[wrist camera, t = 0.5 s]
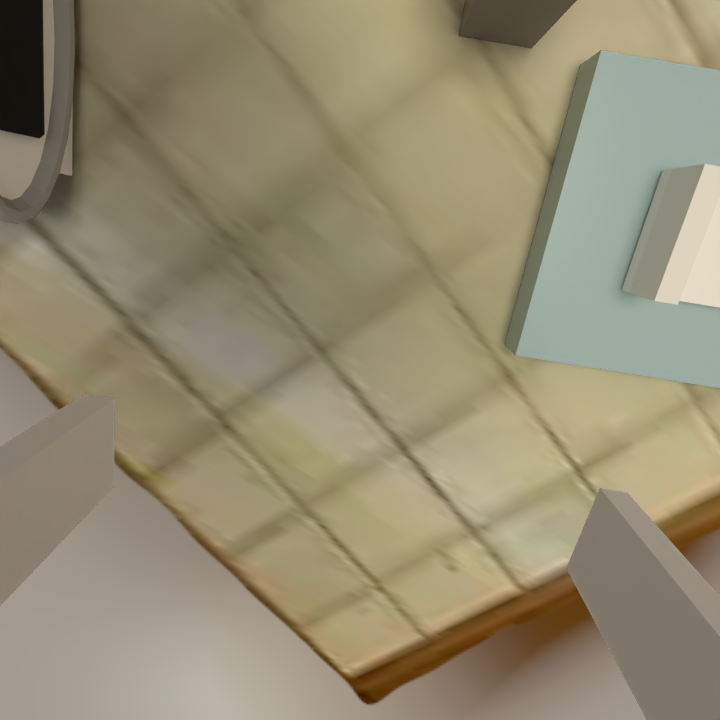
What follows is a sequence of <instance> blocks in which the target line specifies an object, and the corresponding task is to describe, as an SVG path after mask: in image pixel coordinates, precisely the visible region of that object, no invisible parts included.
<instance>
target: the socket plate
mask: <svg viewBox="0 0 720 720" xmlns="http://www.w3.org/2000/svg"><path fill="white" fill-rule="evenodd" d="M701 164H709V165H715V166H720V70H715V69H710V68H704V67H698V66H692V65H686V64H680V63H674V62H669V61H663V60H657V59H651V58H645V57H639V56H633V55H627V54H622V53H616V52H610V51H604V50H601V51H599V52H598V53H596V54H595V55H594V56H592V57H591V58H590V59H588V60H587V61H585V62H584V63H583V64H581V65H580V68H579V72H578V76H577V79H576V83H575V87H574V90H573V94H572V98H571V101H570V105H569V109H568V113H567V116H566V120H565V124H564V127H563V131H562V135H561V138H560V142H559V146H558V150H557V153H556V157H555V161H554V164H553V168H552V172H551V175H550V179H549V183H548V187H547V190H546V194H545V198H544V201H543V205H542V209H541V212H540V216H539V220H538V223H537V227H536V231H535V235H534V238H533V242H532V246H531V249H530V253H529V257H528V260H527V264H526V268H525V272H524V275H523V279H522V283H521V286H520V290H519V294H518V297H517V301H516V305H515V309H514V312H513V316H512V320H511V323H510V327H509V331H508V334H507V338H506V342H505V345H506V346H507V347H508V348H509V349H510V350H511V351H512V352H513V353H514V354H515V355H517V356H523V357H529V358H535V359H541V360H548V361H554V362H560V363H566V364H573V365H579V366H585V367H591V368H598V369H604V370H610V371H616V372H623V373H629V374H635V375H641V376H648V377H654V378H660V379H666V380H672V381H679V382H685V383H691V384H697V385H704V386H710V387H716V388H720V307H713V306H707V305H701V304H695V303H689V302H683V301H679V303H678V305H676V304H670V303H664V302H658V301H653V300H650V299H647V298H644V297H641V296H637V295H634V294H631V293H628V292H625V291H622V287H623V284H624V281H625V278H626V276H627V273H628V270H629V267H630V264H631V261H632V258H633V255H634V252H635V249H636V246H637V244H638V241H639V238H640V235H641V232H642V229H643V226H644V223H645V220H646V217H647V214H648V212H649V209H650V206H651V203H652V200H653V197H654V194H655V191H656V188H657V185H658V182H659V179H660V177H661V174H662V171H663V170H667V169H673V168H680V167H687V166H694V165H701Z"/></svg>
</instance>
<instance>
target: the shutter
mask: <svg viewBox="0 0 720 720" xmlns="http://www.w3.org/2000/svg"><path fill="white" fill-rule="evenodd" d="M622 291H625V292H628V293H631V294H634V295H637V296H641V297H644V298H647V299H650V300H653V301H658V302H664V303H670V304H676V305H678V303H679V301H683V302H689V303H695V304H701V305H707V306H713V307H720V166H715V165H709V164H701V165H694V166H687V167H680V168H673V169H667V170H663V171H662V174H661V177H660V179H659V182H658V185H657V188H656V191H655V194H654V197H653V200H652V203H651V206H650V209H649V212H648V214H647V217H646V220H645V223H644V226H643V229H642V232H641V235H640V238H639V241H638V244H637V246H636V249H635V252H634V255H633V258H632V261H631V264H630V267H629V270H628V273H627V276H626V278H625V281H624V284H623V287H622Z"/></svg>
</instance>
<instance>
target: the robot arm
mask: <svg viewBox="0 0 720 720" xmlns="http://www.w3.org/2000/svg"><path fill="white" fill-rule="evenodd" d="M114 435H115V399H114V398H109V397H103V396H98V395H93V394H87V393H85V394H84V395H82V396H81V397H79V398H77V399H76V400H74V401H73V402H71V403H69V404H68V405H66V406H65V407H63V408H61V409H60V410H58V411H57V412H55V413H53V414H52V415H50V416H49V417H47V418H45V419H44V420H42V421H41V422H39V423H38V424H36V425H34V426H32V427H31V428H29V429H28V430H26V431H24V432H23V433H21V434H20V435H18V436H16V437H15V438H13V439H12V440H10V441H9V442H7V443H5V444H4V445H2V446H0V606H1V604H3V602H4V601H5V600H6V599H7V598H8V597H9V596H10V595H11V594H12V593H13V592H14V591H15V590H16V589H17V588H18V587H19V586H20V584H21V583H22V582H24V581H25V579H26V578H27V577H28V576H29V575H30V574H31V573H32V572H33V571H34V570H35V569H36V568H37V567H38V566H39V565H40V564H41V563H42V561H44V559H46V558H47V556H48V555H49V554H50V553H51V552H52V551H53V550H54V549H55V548H56V547H57V546H58V545H59V544H60V543H61V542H62V541H63V540H64V539H65V538H66V537H67V536H68V534H69V533H70V532H71V531H72V530H73V529H74V528H75V527H76V526H77V525H78V524H79V523H80V522H81V521H82V520H83V519H84V518H85V517H86V516H87V514H89V513H90V511H91V510H92V509H93V508H94V507H95V506H96V505H97V504H98V503H99V502H100V501H101V500H102V499H103V498H104V497H105V496H106V495H107V493H108V492H110V491H111V490H112V488H113V487H114ZM567 570H568V572H569V574H570V576H571V578H572V580H573V582H574V584H575V585H576V587H577V589H578V591H579V593H580V595H581V597H582V599H583V601H584V602H585V604H586V606H587V608H588V610H589V612H590V613H591V616H592V617H593V619H594V621H595V623H596V625H597V627H598V629H599V631H600V632H601V635H602V636H603V638H604V640H605V642H606V644H607V646H608V648H609V649H610V651H611V653H612V655H613V657H614V659H615V661H616V663H617V665H618V667H619V668H620V670H621V672H622V674H623V676H624V678H625V680H626V682H627V683H628V685H629V687H630V689H631V691H632V693H633V695H634V697H635V699H636V700H637V702H638V704H639V706H640V708H641V710H642V712H643V714H644V716H645V717H646V719H647V720H720V596H719V595H718V594H717V593H716V592H715V591H714V590H713V589H712V587H711V586H710V585H709V584H708V583H707V582H706V581H705V580H704V578H703V577H702V576H701V575H700V574H699V573H698V572H697V571H696V570H695V568H694V567H693V566H692V565H691V564H690V563H689V562H688V560H687V559H686V558H685V557H684V556H683V555H682V554H681V553H680V551H679V550H678V549H677V548H676V547H675V546H674V545H673V544H672V542H671V541H670V540H669V539H668V538H667V537H666V536H665V535H664V533H663V532H662V531H661V530H660V529H659V528H658V527H657V526H656V524H655V523H654V522H653V521H652V520H651V519H650V518H649V517H648V515H647V514H646V513H645V512H644V511H643V510H642V509H641V508H640V506H639V505H638V504H637V503H636V502H635V501H634V500H633V499H632V497H631V496H630V495H629V494H628V493H625V492H619V491H614V490H609V489H603V488H600V489H599V492H598V494H597V496H596V499H595V501H594V503H593V506H592V508H591V511H590V513H589V515H588V518H587V520H586V523H585V525H584V527H583V530H582V532H581V534H580V537H579V539H578V542H577V544H576V546H575V549H574V551H573V554H572V556H571V558H570V561H569V563H568V566H567Z"/></svg>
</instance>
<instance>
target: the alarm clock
mask: <svg viewBox="0 0 720 720" xmlns="http://www.w3.org/2000/svg"><path fill="white" fill-rule="evenodd" d="M74 65H75V22H74V0H0V220H2V221H6V222H11V223H16V224H18V223H21V222H24V221H26V220H29V219H31V218H34V217H36V215H37V214H38V213H39V212H40V210H41V209H42V208H43V206H44V205H45V204H46V203H47V201H48V200H49V198H50V195H51V193H52V191H53V188H54V186H55V183H56V181H57V178H58V176H59V173H60V174H65V175H71V176H72V134H73V88H74Z"/></svg>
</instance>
